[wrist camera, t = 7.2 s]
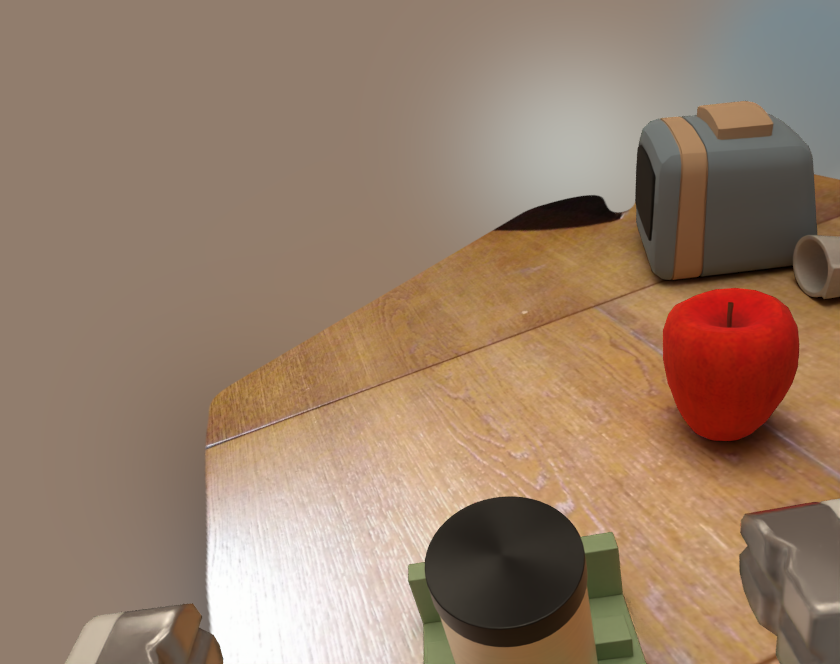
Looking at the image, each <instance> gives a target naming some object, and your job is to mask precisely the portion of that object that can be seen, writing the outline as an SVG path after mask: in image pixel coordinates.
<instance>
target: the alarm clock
mask: <svg viewBox="0 0 840 664" xmlns="http://www.w3.org/2000/svg"><path fill="white" fill-rule="evenodd" d="M635 202H636V209H637V212H636V223H637V226H638V230H639V233H640V236H641V239H642V242H643V245H644V248H645V251H646V254H647V257H648V260H649V263H650V266H651V269H652V271H653V272H654V273H655V274H656V275H658V276H659V277H660V278H662V279H665V280H671V279H672V280H676V279H685V278H693V277H699V276H700V277H701V276H710V275H718V274H726V273H734V272H743V271H751V270H759V269H768V268H776V267H784V266H792V265H793V254H794V249H795V247H796V244H797V243H798V241H799V240H800V239H801V238H802V237H804V236H806V235H817V224H816V206H815V189H814V172H813V158H812V154H811V151H810V148H809V146H808V145H807V144H806V143H805V142H804V141H803V140H802V138H801V137H800V136H799V135H798V134H797V133H796V132H794V131H793V130H792V129H791V128H790V127H789V126H788V125H786V124H785V123H784V122H783V121H781V120H780V119H778V118H776V117H774V116H772V115H770V114H767V113H766V112H765V111H764V110H763V108H761V107H760V106H759V105H757V104H756V103H753V102H748V101H741V102H731V103H722V104H712V105H703V106H699V107H698V109H697V115H694V116H682V117H670V118H661V119H656V120H653V121H650V122H649V123H648V124H647V125H646V126H645V127H644V128H643V130H642V133H641V137H640V141H639V147H638V152H637V166H636V199H635Z"/></svg>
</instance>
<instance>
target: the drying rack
mask: <svg viewBox="0 0 840 664" xmlns="http://www.w3.org/2000/svg"><path fill="white" fill-rule="evenodd" d="M581 540H582V542H583V546H584V551H585V558H586V565H587V577H588V579H587V589H588V597H589V604H590V611H591V618H592V625H593V632H594V639H595V646H596V654H597V661H598V664H646V661H645V659H644V656H643V653H642V650H641V647H640V644H639V641H638V638H637V635H636V632H635V629H634V626H633V623H632V620H631V617H630V614H629V611H628V608H627V605H626V602H625V599H624V596H623V591H622V581H621V571H620V561H619V551H618V546H617V543H616V540H615V537H614V535H613V533H612V532H608V533H602V534H596V535H590V536H584V537H581ZM408 582H409V585H410V587H411V590H412V593H413V596H414V599H415V602H416V605H417V607H418V610H419V613H420V616H421V619H422V622H423V634H424V664H455V661H454V658H453V655H452V652H451V648H450V645H449V642H448V639H447V636H446V633H445V630H444V627H443V624H442V621H441V618H440V615H439V614H438V612H437V610H436V608H435V606H434V604H433V601H432V598H431V595H430V592H429V589H428V586H427V582H426V578H425V562H422V563H416V564H410V565H409V566H408Z"/></svg>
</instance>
